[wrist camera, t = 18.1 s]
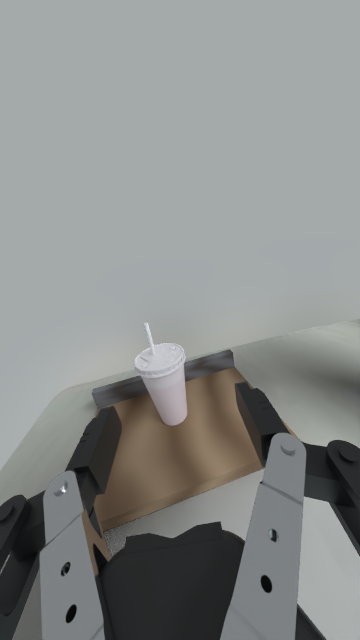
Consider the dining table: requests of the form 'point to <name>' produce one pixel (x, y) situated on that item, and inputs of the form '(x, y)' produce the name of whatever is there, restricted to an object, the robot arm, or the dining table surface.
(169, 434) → the tan serving tray
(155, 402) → the smoothie
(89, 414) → the dining table surface
